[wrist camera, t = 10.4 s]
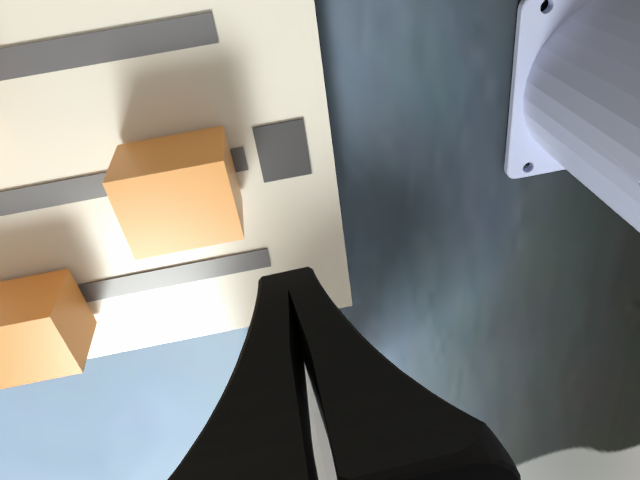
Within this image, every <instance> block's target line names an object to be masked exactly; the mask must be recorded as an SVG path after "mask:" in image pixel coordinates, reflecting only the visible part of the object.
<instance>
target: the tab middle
mask: <svg viewBox="0 0 640 480" xmlns="http://www.w3.org/2000/svg"><path fill="white" fill-rule="evenodd" d="M102 184H103V187H104V189H105V191H106V194H107V196H108V198H109V201H110V203H111V205H112V208H113V210H114V212H115V215H116V217H117V219H118V222H119V224H120V226H121V229H122V231H123V233H124V236H125V238H126V240H127V243H128V245H129V247H130V250H131V252H132V254H133V257H134V259H135V260H139V259H144V258H149V257H154V256H159V255H165V254H170V253H175V252H180V251H185V250H191V249H196V248H201V247H206V246H211V245H217V244H222V243H227V242H232V241H237V240H243V239H244V222H243V203H242V195H241V191H240V187H239V183H238V179H237V175H236V171H235V167H234V164H233V160H232V156H231V152H230V148H229V144H228V140H227V136H226V132H225V128H224V126H219V127H213V128H208V129H202V130H197V131H191V132H186V133H180V134H175V135H169V136H164V137H158V138H153V139H147V140H142V141H136V142H131V143H125V144H120V145H117V147H116V150H115V152H114V155H113V157H112V160H111V162H110V165H109V167H108V170H107V172H106V175H105V177H104V180H103V182H102Z"/></svg>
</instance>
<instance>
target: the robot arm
mask: <svg viewBox="0 0 640 480" xmlns="http://www.w3.org/2000/svg"><path fill="white" fill-rule="evenodd" d="M544 1H545V0H521V2H520V3H519V6H518V12H517V24H516V36H515V47H514V59H513V71H512V83H511V94H510V106H509V118H508V129H507V141H506V153H505V165H504V170H505V173H506V174H507V175H508V176H509V177H510V178H512V179H517V178H522V177H527V176H532V175H537V174H543V173H548V172H553V171H558V170H563V169H566V170H568V171H569V172H570V173H571V174H572V175H573V176H575V177H576V178H577V179H578V180H579V181H580V182H582V183H583V184H584V185H585V186H586V187H587V188H589V189H590V190H591V191H592V192H593V193H594V194H596V195H597V196H598V197H599V198H600V199H601V200H603V201H604V202H605V203H606V204H607V205H608V206H610V207H611V208H612V209H613V210H614V211H615V212H617V213H618V214H619V215H620V216H621V217H622V218H624V219H625V220H626V221H627V222H628V223H629V224H630V225H632V226H633V227H634V228H635V229H636V230H637V231H639V232H640V0H548V6H547V8H546V9H545V10H544V11H542V12H541V10H540V7H541V4H542V3H543V2H544ZM529 162H530V164H529V166H528V167H527V168H525V169H523V167H524V165H525V164H526V163H529ZM304 363H305V365H304ZM305 366H306V370H307V373H308V376H309V379H310V383H311V386H312V389H313V392H314V395H315V399H316V402H317V405H318V408H319V411H320V415H321V418H322V421H323V424H324V427H325V431H326V434H327V437H328V441H329V445H330V449H331V453H332V457H333V462H334V467H335V471H336V476H337V480H521V479H520V474H519V472H518V470H517V468H516V465H515V464H514V462H513V460H512V459H511V457H510V456H509V454H508V453H507V451H506V450H505V448H504V447H503V445H502V444H501V443H500V441H499V440H498V438H497V437H496V436H495V435H494V433H493V432H492V431H491V430H490V428H489V427H488V426H487V425H486V424H485V423H484V422H482V421H480V420H478V419H476V418H474V417H472V416H471V415H469V414H467V413H465V412H463V411H462V410H460V409H458V408H456V407H455V406H453V405H451V404H449V403H448V402H446V401H445V400H443V399H441V398H440V397H438V396H437V395H435V394H433V393H432V392H430V391H429V390H428V389H426V388H425V387H423V386H422V385H421V384H419V383H418V382H416V381H415V380H414V379H412V378H411V377H409V376H408V375H407V374H405V373H404V372H403V371H401V370H400V369H399V368H398V367H396V366H395V365H394V364H393V363H391V362H390V361H389V360H388V359H387V358H386V357H384V356H383V355H382V354H381V353H380V352H379V351H378V350H377V349H375V348H374V347H373V346H372V345H371V344H370V343H369V342H368V341H367V340H366V339H365V338H364V337H363V336H362V335H361V334H360V333H359V332H358V331H357V329H356V328H355V327H354V326H353V325H352V324H351V323H350V322H349V321H348V320H347V318H346V317H345V316H344V315H343V314H342V312H341V311H340V310H339V309H338V307H337V306H336V305H335V304H334V302H333V301H332V300H331V298H330V297H329V296H328V294H327V293H326V291H325V290H324V288H323V287H322V285H321V284H320V282H319V280H318V279H317V277H316V275H315V273H314V270H313V269H312V268H310V267H304V268H299V269H294V270H290V271H285V272H280V273H276V274H271V275H266V276H262V277H261V278H260V279H259V281H258V291H257V297H256V302H255V307H254V311H253V315H252V319H251V322H250V326H249V329H248V333H247V336H246V339H245V342H244V345H243V347H242V350H241V353H240V355H239V358H238V361H237V363H236V366H235V368H234V371H233V373H232V375H231V377H230V380H229V382H228V384H227V386H226V388H225V390H224V392H223V394H222V396H221V398H220V400H219V402H218V404H217V406H216V407H215V409H214V411H213V413H212V415H211V417H210V418H209V420H208V422H207V423H206V425H205V427H204V428H203V430H202V432H201V433H200V435H199V436H198V438H197V439H196V441H195V442H194V444H193V445H192V447H191V448H190V450H189V451H188V453H187V454H186V456H185V457H184V459H183V460H182V461H181V463H180V464H179V466H178V467H177V468H176V470H175V471H174V472H173V474H172V475H171V476H170V477H169V479H168V480H319V479H318V474H317V469H316V464H315V458H314V452H313V445H312V437H311V427H310V416H309V406H308V395H307V385H306V375H305Z"/></svg>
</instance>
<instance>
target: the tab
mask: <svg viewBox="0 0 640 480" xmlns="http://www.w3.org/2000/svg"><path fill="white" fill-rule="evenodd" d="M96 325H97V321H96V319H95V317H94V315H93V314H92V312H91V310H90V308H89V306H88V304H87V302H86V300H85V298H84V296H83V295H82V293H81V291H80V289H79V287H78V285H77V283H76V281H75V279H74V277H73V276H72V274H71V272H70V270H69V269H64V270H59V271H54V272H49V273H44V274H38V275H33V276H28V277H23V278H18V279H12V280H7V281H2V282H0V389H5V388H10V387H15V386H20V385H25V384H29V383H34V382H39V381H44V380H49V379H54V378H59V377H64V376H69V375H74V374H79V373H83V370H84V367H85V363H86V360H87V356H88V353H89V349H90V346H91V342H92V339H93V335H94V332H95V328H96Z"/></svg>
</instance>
